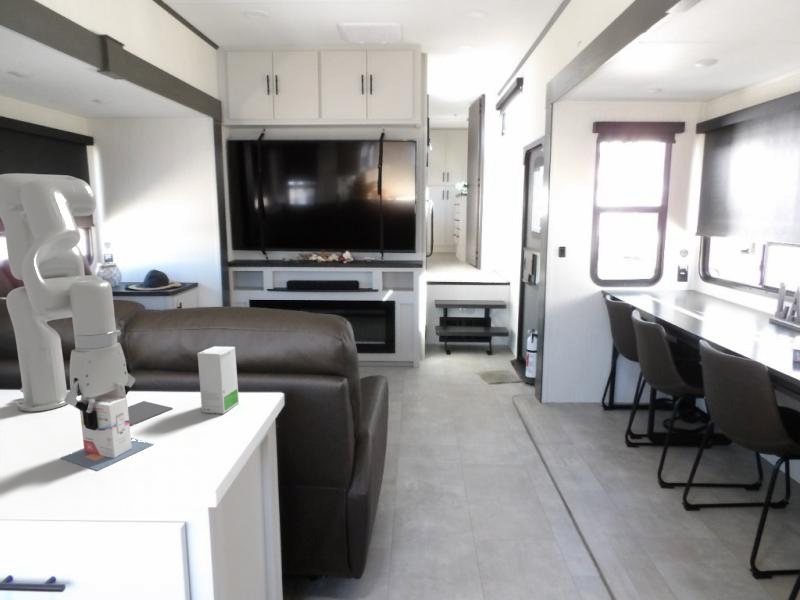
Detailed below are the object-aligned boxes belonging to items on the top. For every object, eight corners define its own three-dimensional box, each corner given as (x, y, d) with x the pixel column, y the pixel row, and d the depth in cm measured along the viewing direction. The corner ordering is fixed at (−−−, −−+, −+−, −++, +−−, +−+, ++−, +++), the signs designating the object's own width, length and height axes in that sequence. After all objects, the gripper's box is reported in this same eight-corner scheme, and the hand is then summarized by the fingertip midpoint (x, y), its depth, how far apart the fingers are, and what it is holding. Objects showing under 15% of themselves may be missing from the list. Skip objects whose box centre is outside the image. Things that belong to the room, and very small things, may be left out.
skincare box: (223, 415, 133) (219, 354, 130) (199, 413, 134) (195, 353, 131) (240, 402, 141) (236, 346, 138) (217, 401, 142) (213, 344, 139)
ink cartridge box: (82, 452, 112) (75, 386, 110) (102, 443, 117) (95, 379, 114) (114, 459, 110) (106, 390, 107) (133, 448, 114) (126, 383, 112)
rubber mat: (101, 418, 131) (101, 416, 131) (143, 402, 142) (143, 401, 142) (131, 426, 126) (130, 424, 126) (172, 408, 137) (172, 407, 137)
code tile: (60, 458, 110) (60, 457, 110) (117, 434, 122) (117, 433, 122) (97, 470, 105) (97, 470, 105) (153, 444, 116) (153, 444, 116)
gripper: (122, 329, 118) (129, 407, 121) (42, 348, 103) (53, 435, 106) (145, 333, 115) (152, 412, 118) (65, 352, 100) (76, 443, 103)
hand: (105, 422), depth 112 cm, fingers closed on ink cartridge box, 5 cm apart
